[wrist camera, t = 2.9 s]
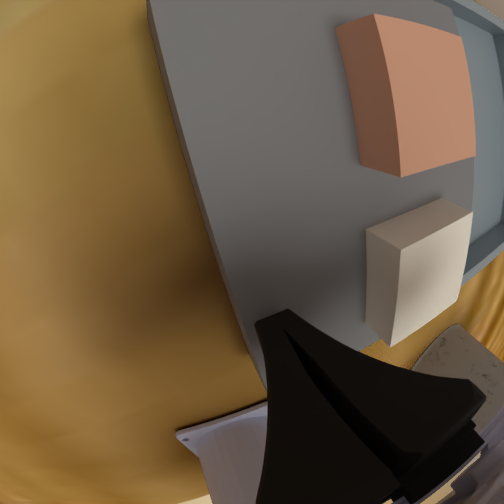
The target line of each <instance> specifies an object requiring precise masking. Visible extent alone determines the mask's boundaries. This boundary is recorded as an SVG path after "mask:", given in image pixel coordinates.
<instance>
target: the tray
mask: <svg viewBox="0 0 504 504" xmlns="http://www.w3.org/2000/svg"><path fill="white" fill-rule="evenodd" d="M434 1H436V2H438V3H441V4H443V5H445V6H448V7H450V8H451V9H452V12H453V15H454V19H455V22H456V26H457V29H458V33H459V36H460V37H461V38H462V42H463V46H464V50H465V55H466V60H467V65H468V71H469V77H470V83H471V90H472V98H473V108H474V120H475V138H476V156H474V184H473V200H472V211H473V218H472V226H471V234H470V241H469V247H468V253H467V258H466V264H465V269H464V273H463V278H462V283H461V286H462V285H463V284H465V283H466V282H467V281H468V280H470V279H471V278H472V277H473V276H475V275H476V274H477V273H478V272H479V271H481V270H482V269H483V268H484V267H485V266H486V265H488V264H489V263H490V262H491V261H492V260H493V259H494V258H495V257H497V256H498V255H499V254H500V253H501V252H502V251H503V250H504V21H502V20H501V19H500V18H498V17H497V16H495V15H494V14H492V13H491V12H489V11H488V10H487V9H485V8H484V7H482V6H481V5H479V4H477V3H476V2H474V1H473V0H434Z"/></svg>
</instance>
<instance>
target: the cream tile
mask: <svg viewBox="0 0 504 504" xmlns="http://www.w3.org/2000/svg"><path fill="white" fill-rule="evenodd" d="M472 218H473V211H471V210H468V209H466V208H464V207H461V206H459V205H457V204H454V203H452V202H449V201H447V200H445V199H442V198H440V199H438V200H435V201H433V202H431V203H428V204H426V205H423V206H421V207H419V208H416V209H414V210H411V211H409V212H406V213H404V214H402V215H399V216H397V217H394V218H392V219H389V220H387V221H384V222H382V223H379V224H377V225H375V226H372V227H370V228H367V229H366V260H367V286H366V319H365V323H366V324H367V325H368V326H369V327H370V328H371V329H372V330H373V331H374V332H375V333H376V334H377V335H378V336H379V337H380V338H381V339H382V340H383V341H384V342H385V343H386V344H387V345H388V346H389V347H392V346H393V345H395V344H396V343H398V342H400V341H401V340H403V339H404V338H406V337H407V336H409V335H410V334H412V333H413V332H415V331H416V330H418V329H419V328H420V327H422V326H423V325H425V324H426V323H428V322H429V321H430V320H432V319H433V318H434V317H436V316H437V315H439V314H440V313H441V312H443V311H444V310H445V309H447V308H448V307H449V306H450V305H452V304H453V303H454V302H455V301H457V299H458V295H459V291H460V287H461V283H462V278H463V273H464V269H465V264H466V258H467V253H468V247H469V241H470V234H471V226H472Z"/></svg>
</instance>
